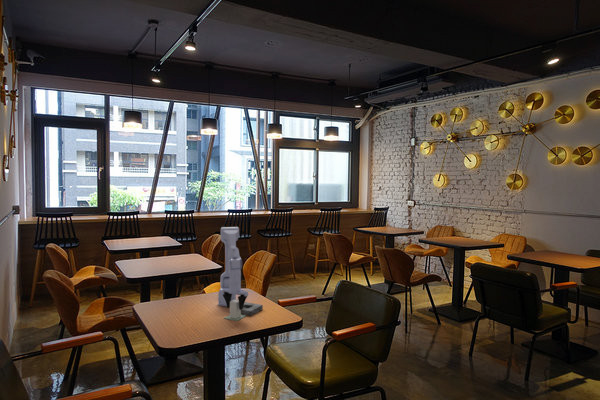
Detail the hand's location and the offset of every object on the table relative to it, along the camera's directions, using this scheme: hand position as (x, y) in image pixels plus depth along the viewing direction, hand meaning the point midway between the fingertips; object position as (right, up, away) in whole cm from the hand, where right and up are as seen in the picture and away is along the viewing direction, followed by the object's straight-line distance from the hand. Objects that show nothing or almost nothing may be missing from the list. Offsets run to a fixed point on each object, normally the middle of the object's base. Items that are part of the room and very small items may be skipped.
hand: (235, 308), depth 204 cm
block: (0, -4, +1) cm, 4 cm away
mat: (0, -5, 0) cm, 5 cm away
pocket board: (+5, -4, +11) cm, 12 cm away
